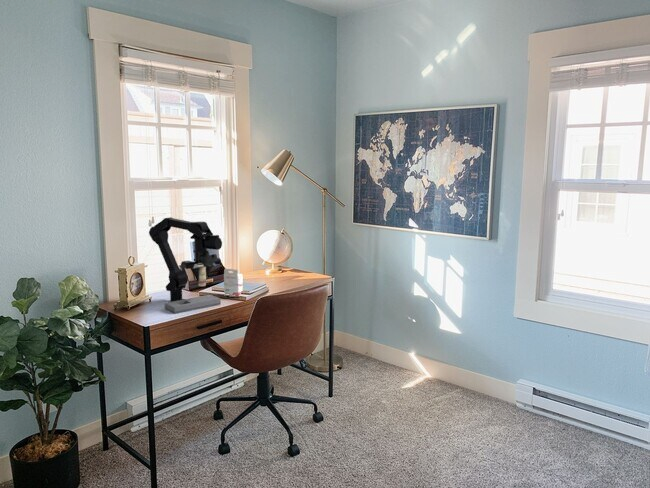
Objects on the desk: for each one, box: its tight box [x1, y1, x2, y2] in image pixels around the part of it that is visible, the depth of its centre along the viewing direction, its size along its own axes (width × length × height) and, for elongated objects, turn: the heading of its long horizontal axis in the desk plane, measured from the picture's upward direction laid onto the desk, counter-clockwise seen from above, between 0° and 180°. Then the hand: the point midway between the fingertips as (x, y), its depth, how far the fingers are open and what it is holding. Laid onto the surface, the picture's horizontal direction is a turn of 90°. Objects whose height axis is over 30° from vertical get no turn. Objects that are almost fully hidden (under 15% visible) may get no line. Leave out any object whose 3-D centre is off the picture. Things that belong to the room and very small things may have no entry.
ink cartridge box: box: [223, 268, 244, 296], centre depth 270 cm, size 9×5×15 cm, turn 68°
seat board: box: [164, 294, 222, 315], centre depth 251 cm, size 10×24×3 cm, turn 133°
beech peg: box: [197, 265, 207, 287], centre depth 252 cm, size 4×4×9 cm
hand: (201, 280), depth 252 cm, fingers closed on beech peg, 4 cm apart
